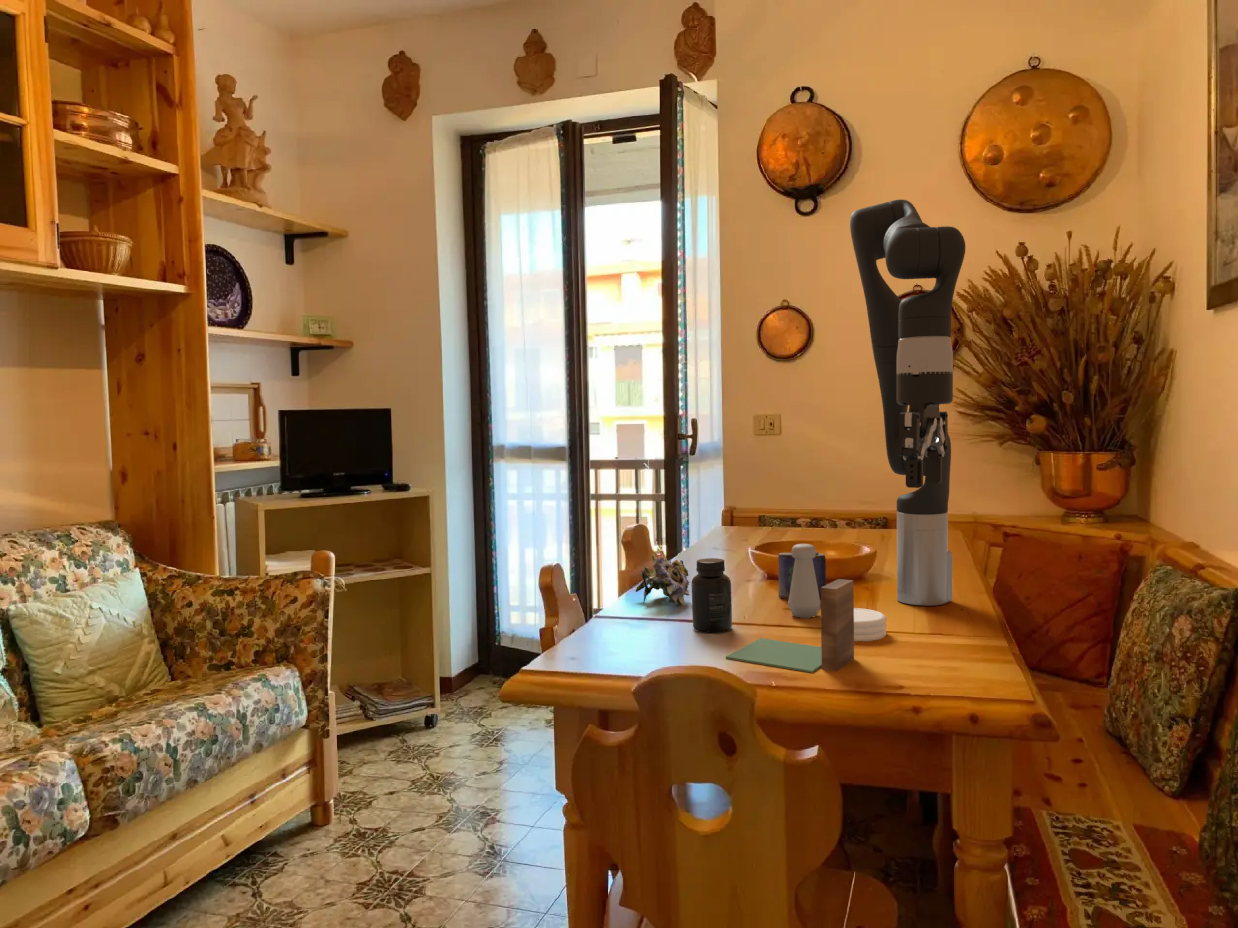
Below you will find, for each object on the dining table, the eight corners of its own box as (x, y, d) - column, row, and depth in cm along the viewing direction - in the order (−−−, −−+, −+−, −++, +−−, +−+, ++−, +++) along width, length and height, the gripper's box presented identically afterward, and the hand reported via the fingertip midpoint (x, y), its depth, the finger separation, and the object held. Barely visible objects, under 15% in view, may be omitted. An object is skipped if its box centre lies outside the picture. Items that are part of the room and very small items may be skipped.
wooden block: (854, 658, 131) (853, 580, 130) (836, 671, 125) (836, 589, 124) (838, 656, 132) (837, 578, 131) (820, 668, 127) (819, 587, 126)
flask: (777, 598, 171) (777, 545, 171) (780, 595, 174) (779, 542, 173) (825, 601, 168) (825, 546, 168) (827, 598, 171) (826, 544, 170)
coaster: (849, 646, 138) (849, 624, 138) (812, 631, 147) (811, 611, 147) (899, 637, 142) (899, 616, 142) (859, 624, 151) (859, 604, 151)
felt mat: (842, 651, 134) (842, 650, 134) (812, 672, 125) (812, 670, 125) (760, 639, 142) (760, 637, 142) (725, 658, 133) (725, 656, 133)
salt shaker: (821, 619, 154) (820, 547, 153) (788, 619, 155) (787, 547, 154) (820, 611, 160) (819, 542, 159) (788, 611, 161) (787, 541, 160)
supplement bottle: (735, 624, 152) (734, 557, 152) (727, 634, 146) (726, 564, 145) (697, 622, 155) (696, 556, 154) (688, 632, 148) (686, 563, 147)
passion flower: (680, 632, 169) (681, 591, 161) (627, 619, 172) (625, 578, 164) (695, 590, 177) (696, 549, 169) (644, 579, 180) (643, 538, 172)
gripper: (914, 373, 131) (914, 481, 131) (880, 370, 119) (880, 488, 120) (966, 371, 126) (965, 482, 127) (935, 367, 115) (935, 490, 116)
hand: (924, 485), depth 123 cm, fingers open, 8 cm apart
